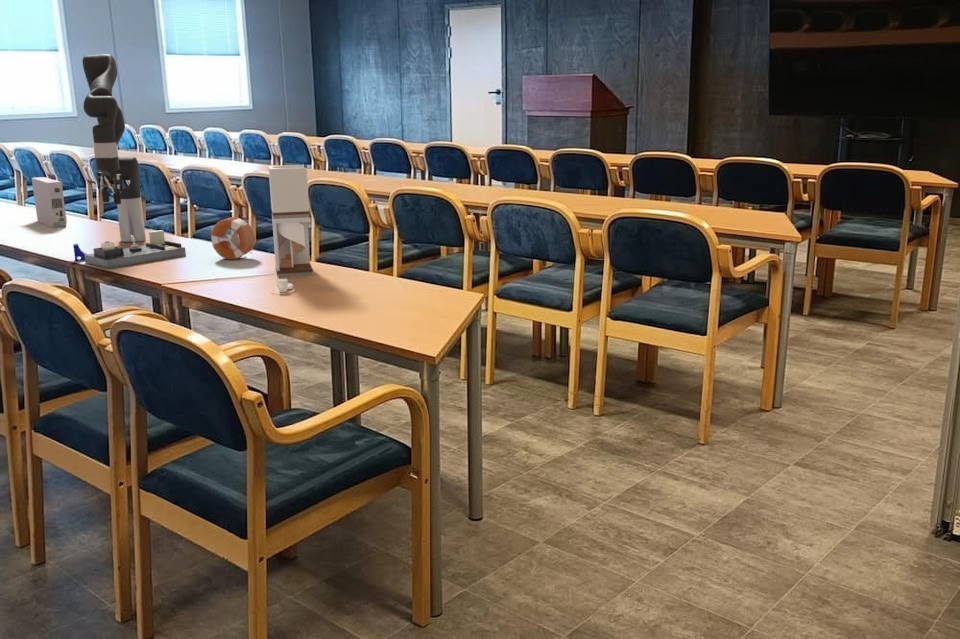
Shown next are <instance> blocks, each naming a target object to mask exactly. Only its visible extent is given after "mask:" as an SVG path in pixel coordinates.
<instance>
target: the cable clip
mask: <svg viewBox="0 0 960 639" xmlns="http://www.w3.org/2000/svg"><path fill="white" fill-rule="evenodd" d="M107 242H110V241H104V243H107ZM72 247H73V253H74V261H75V262H85V256H84V255H86V254H87V253H86V252H84V251H83V250H82V249H81V248H80V247H79V243H73V244H72Z"/></svg>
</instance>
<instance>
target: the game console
mask: <svg viewBox="0 0 960 639" xmlns="http://www.w3.org/2000/svg"><path fill="white" fill-rule="evenodd" d="M31 182H32V184H31V185H32V191H33V197H34V205H35V211H36V212H35V213H36V219H37V222H39V223H42V224H44V225H46V226H49V227H51V228H60V227H61V228H62V226H63V227H67V223H68V221H67V215H66V214H67V212H66V206H65V200H64V192H63V190H64V189H63V184H62V182H63V181H60V180H56V179H51V178H48V177H46V176H39V177H31Z"/></svg>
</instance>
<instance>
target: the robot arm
mask: <svg viewBox="0 0 960 639" xmlns="http://www.w3.org/2000/svg"><path fill="white" fill-rule="evenodd" d="M116 62H117V61H116V59H115V58H114V56H113V55H111V54H108V53H100V54H88V55H84V56H83V57H82V67H83V71H84V72H83V73H84V74H85V79H86V81H87V85H88V87H89V93H88V94H87V95H86V97H85V98H84V100H83V111H84V113H85V115H87V116H88V117H90V118H96V120H97V124H95V125H94V126H92V137H93V138H92V139H93V153H94V154H93V155H94V161H95V169H96V171H97V172H96V173H95V174H96V175H95V176H96V184H97V185H96V186H97V189H98V190H99V191H100V192H101V198H102V202H103V203H109V202H110V201H111V200H110V192H109V189H111V192H112V198H113V199H112V200H113V204H114V205H116V206H117V216H118V217H117V219H118V229H119V235H120V241H121V242H123V243H132V241H131V238H130V236H131V235H133V236H134V239H135V242H136V243H138V242H143V241H146V239H147V238H146V230H145V221H144V211H143V203H142V194H141V183H140V182H141V180H140V166H139V161H138V159H137V158H136V157H135V156H119V150H118V145H119V143H120V141H121V139H122V137H123V135H124V133H125V129H126V124H125V119H124V115H123V112H122V110H121V108H120V106H119V105H118V101H117V99H116V98H115V97H113V87H114V85H115V83H116V80H117V77H118V66H117V63H116ZM123 181H129V184H128V185H126V186H125V187H124V185H123Z"/></svg>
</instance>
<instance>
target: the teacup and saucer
mask: <svg viewBox="0 0 960 639" xmlns="http://www.w3.org/2000/svg"><path fill="white" fill-rule="evenodd" d="M276 282H277V283H276V284H277V285H276V286H277V289H279V290H278V291H279V293H286V292H285V291H287V292H288V290H287V289H294V284H293V283H291V282H289V281H288V278H278V279H277V280H276Z"/></svg>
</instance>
